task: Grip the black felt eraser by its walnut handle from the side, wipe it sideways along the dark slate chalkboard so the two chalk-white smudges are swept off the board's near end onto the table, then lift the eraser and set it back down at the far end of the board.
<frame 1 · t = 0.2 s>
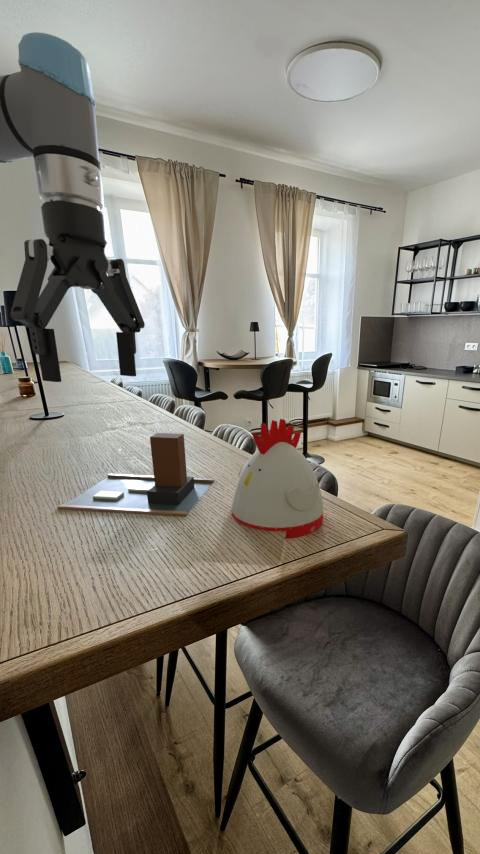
hand: (93, 378, 61), 20 cm above the counter, tool pointing down, fingers open, 13 cm apart
chalk smudge a: (142, 489, 70), point 1 cm above the counter, touching chalkboard
kitchen timer: (277, 519, 63), on the counter
chalk smudge b: (108, 496, 67), point 1 cm above the counter, touching chalkboard
chalkboard: (144, 500, 69), on the counter
eraser: (172, 495, 68), point 1 cm above the counter, touching chalkboard
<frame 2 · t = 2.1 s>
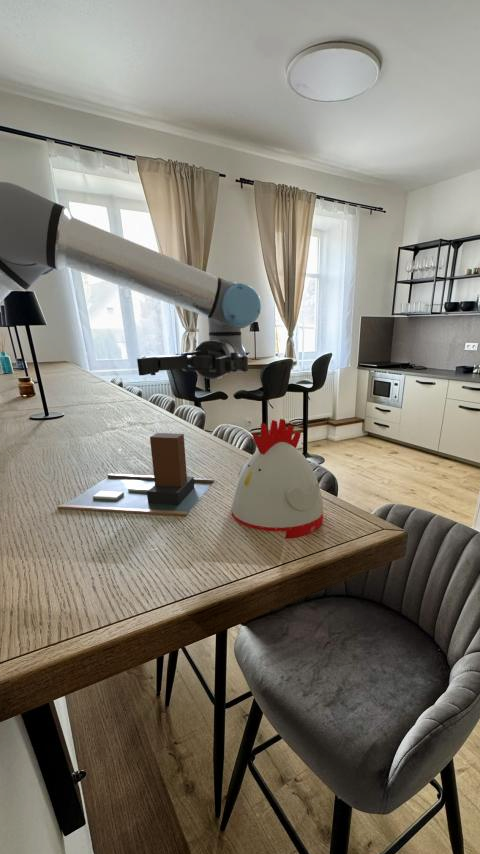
hand: (178, 367, 69), 21 cm above the counter, tool horizontal, fingers open, 13 cm apart
nothing on the counter moved.
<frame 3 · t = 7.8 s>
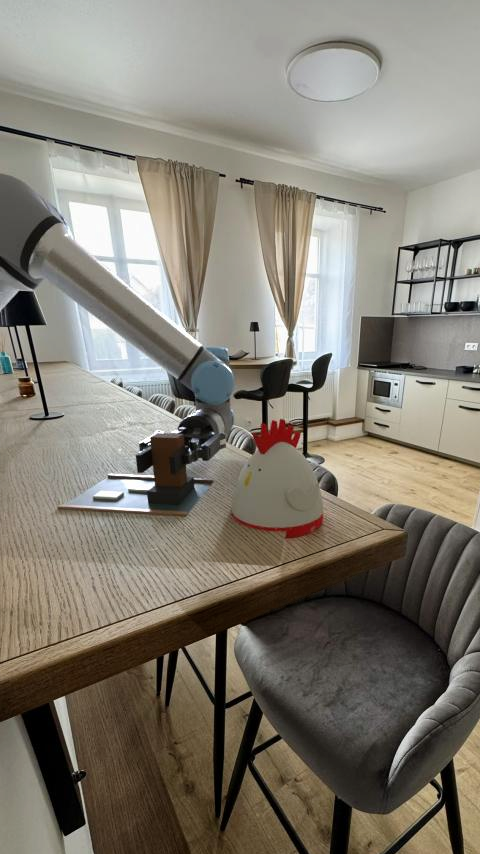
hand: (155, 464, 60), 8 cm above the counter, tool horizontal, fingers closed on eraser, 4 cm apart
eraser: (172, 495, 68), point 1 cm above the counter, touching chalkboard, gripper
everything else where it was.
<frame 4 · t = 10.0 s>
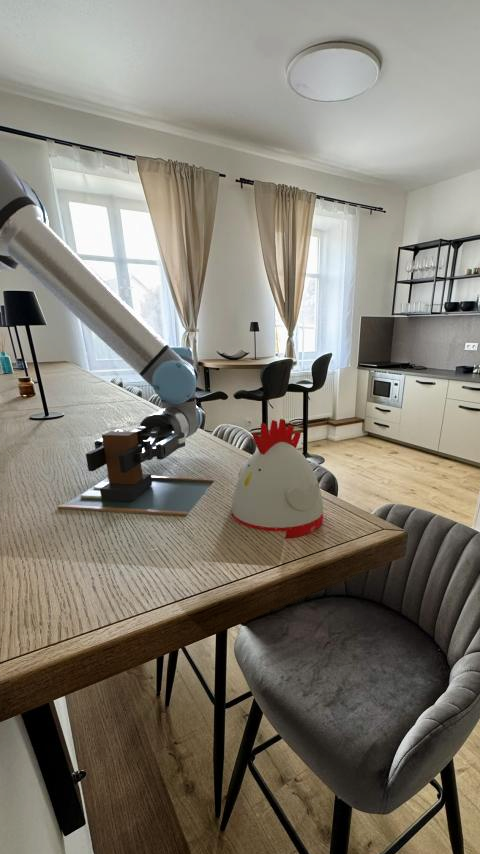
hand: (105, 463, 61), 8 cm above the counter, tool horizontal, fingers closed on eraser, 4 cm apart
chalk smudge a: (108, 487, 71), point 1 cm above the counter, touching chalkboard
chalk smudge b: (96, 495, 67), point 1 cm above the counter
eraser: (128, 492, 69), point 1 cm above the counter, touching gripper
everything else where it was.
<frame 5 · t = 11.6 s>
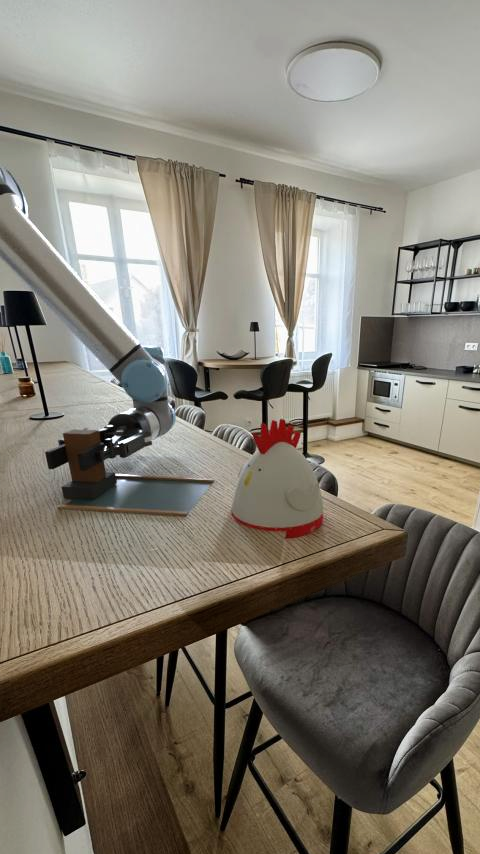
hand: (65, 461, 62), 8 cm above the counter, tool horizontal, fingers closed on eraser, 4 cm apart
chalk smudge a: (82, 492, 72), on the counter
chalk smudge b: (69, 500, 68), on the counter
eraser: (91, 490, 69), point 1 cm above the counter, touching gripper
everything else where it was.
when the fingers open (8 cm above the counter, at t = 19.1 s): eraser stays where it is, resting on chalkboard.
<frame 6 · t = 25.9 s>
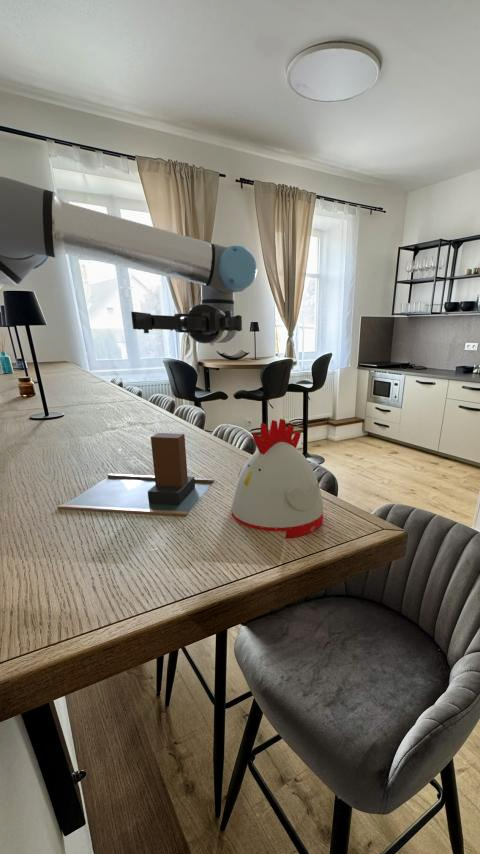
hand: (173, 320, 69), 28 cm above the counter, tool horizontal, fingers open, 13 cm apart
eraser: (173, 495, 68), point 1 cm above the counter, touching chalkboard
everything else where it was.
at the end: chalk smudge a on the counter; chalk smudge b on the counter; eraser inside the target area on the chalkboard (0.8 cm from its centre), point 1.2 cm above the chalkboard's base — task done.
